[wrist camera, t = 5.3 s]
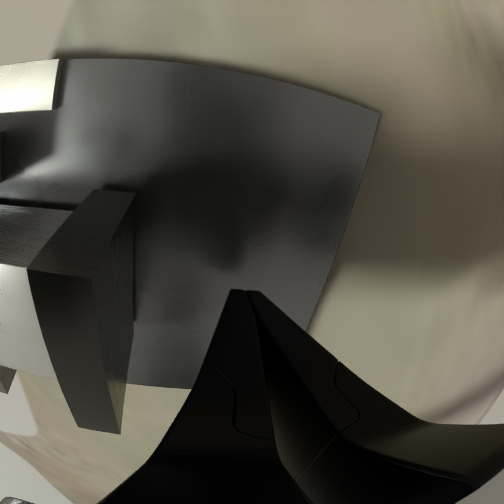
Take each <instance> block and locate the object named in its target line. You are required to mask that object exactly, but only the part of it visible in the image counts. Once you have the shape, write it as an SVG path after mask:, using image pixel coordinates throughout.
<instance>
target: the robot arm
mask: <svg viewBox="0 0 504 504" xmlns="http://www.w3.org/2000/svg"><path fill="white" fill-rule="evenodd" d="M0 504H34V503H31V502H27V501H24V500H21V499H17V498H13V497H5V498H4V499H3V500H2V501H1V502H0ZM97 504H504V424H489V425H459V424H436V423H430V422H427V421H423V420H421V419H419V418H417V417H415V416H413V415H412V414H410V413H409V412H407V411H406V410H404V409H403V408H401V407H400V406H398V405H397V404H395V403H394V402H393V401H391V400H390V399H388V398H387V397H385V396H384V395H382V394H381V393H380V392H378V391H377V390H375V389H374V388H373V387H371V386H370V385H369V384H367V383H366V382H364V381H363V380H362V379H361V378H359V377H358V376H357V375H356V374H354V373H353V372H352V371H351V370H350V369H348V368H347V367H346V366H345V365H344V364H343V363H341V362H340V361H338V359H337V358H335V357H334V356H333V355H332V354H331V353H330V352H328V351H327V350H326V349H325V348H324V347H323V346H322V345H320V344H319V343H318V342H317V341H316V340H315V339H314V338H312V337H311V336H310V335H309V334H308V333H307V332H306V331H304V330H303V329H302V328H301V327H300V326H299V325H298V324H296V323H295V322H294V321H293V320H292V319H291V318H290V317H289V316H287V315H286V314H285V313H284V312H283V311H282V310H281V309H280V308H278V307H277V306H276V305H275V304H274V303H273V302H272V301H271V300H269V299H268V298H267V297H266V296H265V295H264V294H263V293H262V292H260V291H257V290H246V291H245V290H242V289H231V290H230V291H229V294H228V296H227V299H226V302H225V304H224V307H223V310H222V312H221V315H220V318H219V320H218V323H217V326H216V328H215V331H214V334H213V336H212V339H211V342H210V344H209V347H208V350H207V353H206V355H205V358H204V361H203V363H202V365H201V368H200V371H199V374H198V376H197V378H196V381H195V383H194V385H193V388H192V390H191V392H190V393H189V395H188V397H187V399H186V401H185V403H184V404H183V406H182V408H181V409H180V411H179V413H178V414H177V416H176V418H175V419H174V421H173V423H172V424H171V426H170V428H169V429H168V431H167V432H166V434H165V436H164V437H163V439H162V441H161V442H160V444H159V445H158V447H157V448H156V450H155V451H154V452H153V454H152V455H151V456H150V458H149V459H148V460H147V461H146V462H145V464H143V465H142V466H141V467H140V468H139V469H138V470H137V471H135V472H134V473H133V474H132V475H131V476H130V477H128V478H127V479H126V480H125V481H124V482H123V483H121V484H120V485H119V486H118V487H117V488H115V489H114V490H113V491H112V492H111V493H109V494H108V495H107V496H106V497H104V498H103V499H102V500H101V501H99V502H98V503H97Z"/></svg>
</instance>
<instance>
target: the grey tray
mask: <svg viewBox="0 0 504 504" xmlns="http://www.w3.org/2000/svg"><path fill="white" fill-rule="evenodd" d="M379 116H380V113H378V112H375V111H373V110H370V109H367V108H365V107H362V106H359V105H357V104H354V103H351V102H348V101H345V100H343V99H340V98H337V97H334V96H330V95H327V94H324V93H321V92H318V91H314V90H311V89H308V88H304V87H301V86H297V85H293V84H290V83H286V82H282V81H278V80H274V79H270V78H265V77H261V76H256V75H252V74H247V73H242V72H237V71H231V70H226V69H220V68H214V67H207V66H201V65H193V64H185V63H176V62H166V61H154V60H139V59H67V60H62V59H51V60H41V61H32V62H24V63H16V64H10V65H4V66H0V205H10V206H22V207H34V208H46V209H57V210H68V211H74V210H75V209H76V208H77V207H78V206H79V205H80V203H81V202H82V201H83V200H84V199H85V198H86V197H87V196H88V195H89V194H90V193H91V192H92V191H93V190H94V189H102V190H113V191H124V192H134V193H136V204H135V219H134V241H133V320H134V336H133V342H132V348H131V354H130V361H129V367H128V374H127V381H126V383H128V384H136V385H145V386H156V387H167V388H181V389H192V388H193V385H194V383H195V381H196V378H197V376H198V374H199V371H200V368H201V365H202V363H203V361H204V358H205V355H206V353H207V350H208V347H209V344H210V342H211V339H212V336H213V334H214V331H215V328H216V326H217V323H218V320H219V318H220V315H221V312H222V310H223V307H224V304H225V302H226V299H227V296H228V294H229V291H230V290H231V289H242V290H245V291H246V290H257V291H260V292H262V293H263V294H264V295H265V296H266V297H267V298H268V299H269V300H271V301H272V302H273V303H274V304H275V305H276V306H277V307H278V308H280V309H281V310H282V311H283V312H284V313H285V314H286V315H287V316H289V317H290V318H291V319H292V320H293V321H294V322H295V323H296V324H298V325H299V326H300V327H301V328H302V329H303V330H304V331H306V329H307V327H308V324H309V322H310V319H311V317H312V315H313V312H314V310H315V307H316V305H317V302H318V300H319V297H320V295H321V292H322V290H323V287H324V285H325V282H326V280H327V277H328V274H329V272H330V269H331V266H332V264H333V261H334V258H335V256H336V253H337V250H338V247H339V245H340V242H341V239H342V236H343V233H344V231H345V228H346V225H347V222H348V219H349V216H350V213H351V210H352V207H353V204H354V201H355V198H356V195H357V192H358V189H359V185H360V182H361V179H362V176H363V173H364V169H365V166H366V163H367V159H368V156H369V152H370V149H371V145H372V142H373V138H374V135H375V131H376V127H377V124H378V120H379ZM16 371H17V370H15V369H12V368H8V367H5V366H2V365H0V392H3V393H6V394H8V391H9V389H10V386H11V383H12V381H13V379H14V376H15V373H16Z"/></svg>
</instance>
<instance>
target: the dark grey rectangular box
mask: <svg viewBox="0 0 504 504" xmlns="http://www.w3.org/2000/svg"><path fill="white" fill-rule="evenodd" d="M135 204H136V193H134V192H124V191H113V190H102V189H94V190H93V191H92V192H91V193H90V194H89V195H88V196H87V197H86V198H85V199H84V200H83V201H82V202H81V203H80V205H79V206H78V207H77V208H76V209H75V210H74V211H68V210H57V209H46V208H34V207H22V206H10V205H0V365H2V366H5V367H8V368H12V369H15V370H19V371H22V372H26V373H30V374H34V375H38V376H42V377H46V378H51V379H55V380H58V382H59V385H60V387H61V390H62V392H63V394H64V397H65V399H66V401H67V404H68V406H69V408H70V410H71V413H72V415H73V417H74V419H75V421H76V423H77V425H78V427H80V428H85V429H90V430H96V431H102V432H108V433H114V434H121V424H122V414H123V405H124V397H125V389H126V381H127V374H128V367H129V361H130V354H131V348H132V342H133V336H134V320H133V241H134V219H135Z"/></svg>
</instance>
